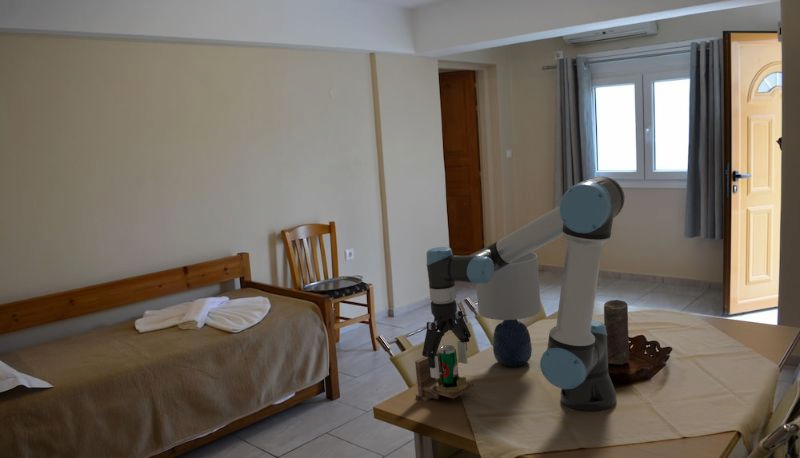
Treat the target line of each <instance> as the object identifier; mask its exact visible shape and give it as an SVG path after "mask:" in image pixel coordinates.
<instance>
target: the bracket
mask: <svg viewBox="0 0 800 458" xmlns="http://www.w3.org/2000/svg"><path fill="white" fill-rule="evenodd" d="M439 351H440V349H438V350H437V353H436V356H438V365H439V376H440V378H439V379H437V378H433V377H431V372H430V368H429V362H428V357H425V356H422V357H420V358H419V359H417V360H415V362H414V363H415V364H414V365H415V372H416V382H417V394H415V399H418V400H420V399H421V400H420V401H425V402H427V401H429V400H431V399H434V400H439V399H440V396H443V397H447V398H450V399H456V398H457V397H459V396H461V395H462V394H464V393H466V392H468V391H470V390H471V389H473V388H474V387H475V383H473V382H469V381H467V377H465V376H463V377H461V376H459V380H457V387H449V388H446V387H444V386H443V384H442V375H441V366H440V357H439ZM428 399H429V400H428Z"/></svg>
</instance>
